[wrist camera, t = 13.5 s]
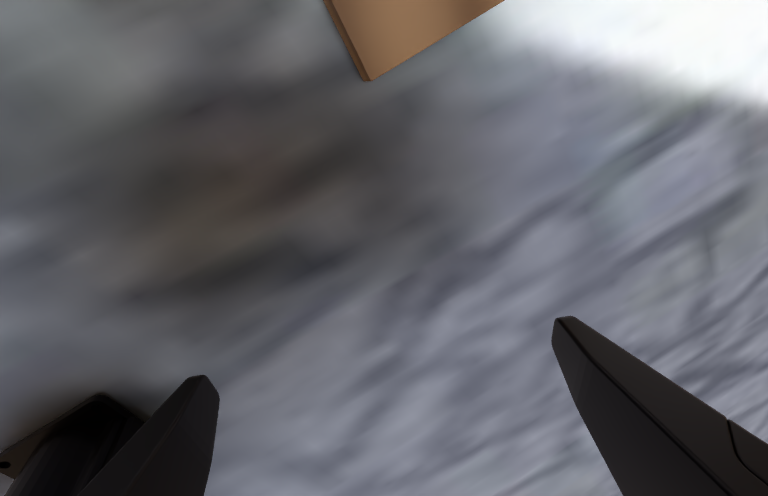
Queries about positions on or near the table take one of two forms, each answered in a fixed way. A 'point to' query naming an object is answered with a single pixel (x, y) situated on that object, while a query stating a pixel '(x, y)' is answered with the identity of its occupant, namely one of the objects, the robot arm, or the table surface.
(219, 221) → the table surface
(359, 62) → the pin board
